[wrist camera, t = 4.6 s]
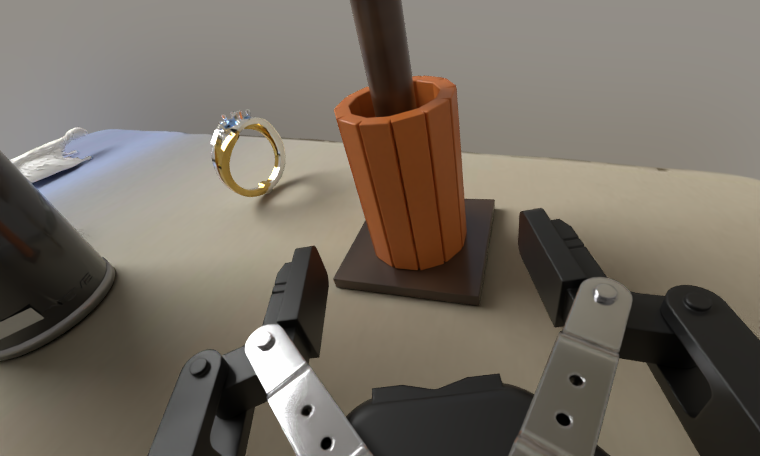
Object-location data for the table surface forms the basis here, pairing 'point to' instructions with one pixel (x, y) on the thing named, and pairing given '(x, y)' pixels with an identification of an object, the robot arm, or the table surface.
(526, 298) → the table surface
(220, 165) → the ring
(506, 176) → the table surface
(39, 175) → the white dragon
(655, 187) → the table surface
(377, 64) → the brown peg stand
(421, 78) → the orange stave barrel
